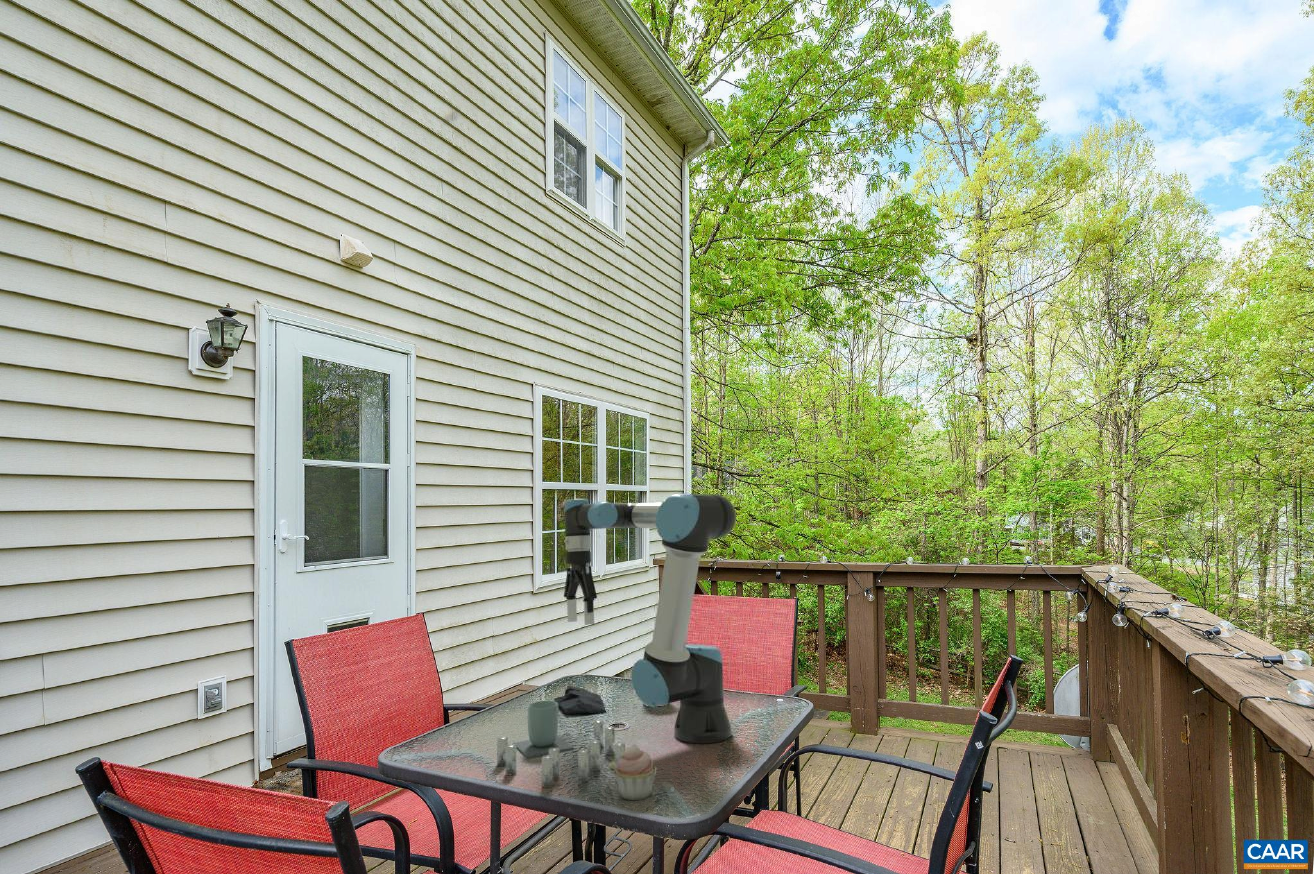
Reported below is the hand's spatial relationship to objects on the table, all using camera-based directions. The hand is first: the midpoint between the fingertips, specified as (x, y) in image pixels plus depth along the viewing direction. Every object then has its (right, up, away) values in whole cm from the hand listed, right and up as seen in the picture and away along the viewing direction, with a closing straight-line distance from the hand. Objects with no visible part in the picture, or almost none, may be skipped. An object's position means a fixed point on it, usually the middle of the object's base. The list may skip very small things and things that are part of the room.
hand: (580, 623), depth 201 cm
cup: (-6, -24, -28) cm, 37 cm away
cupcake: (+18, -20, -60) cm, 66 cm away
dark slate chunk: (-1, -30, +11) cm, 32 cm away
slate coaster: (-7, -24, -28) cm, 37 cm away
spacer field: (+3, -22, -41) cm, 47 cm away
